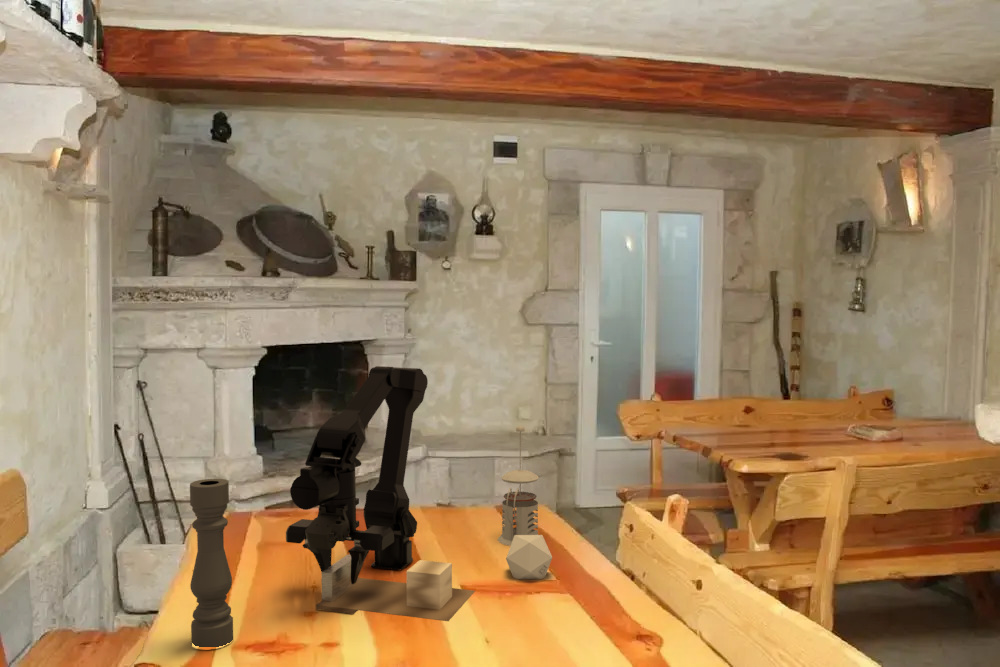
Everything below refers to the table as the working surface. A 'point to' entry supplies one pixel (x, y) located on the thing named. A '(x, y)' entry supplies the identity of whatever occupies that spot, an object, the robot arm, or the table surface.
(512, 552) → the die
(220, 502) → the candle holder
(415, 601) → the cube
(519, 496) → the french press
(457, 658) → the table surface
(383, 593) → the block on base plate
